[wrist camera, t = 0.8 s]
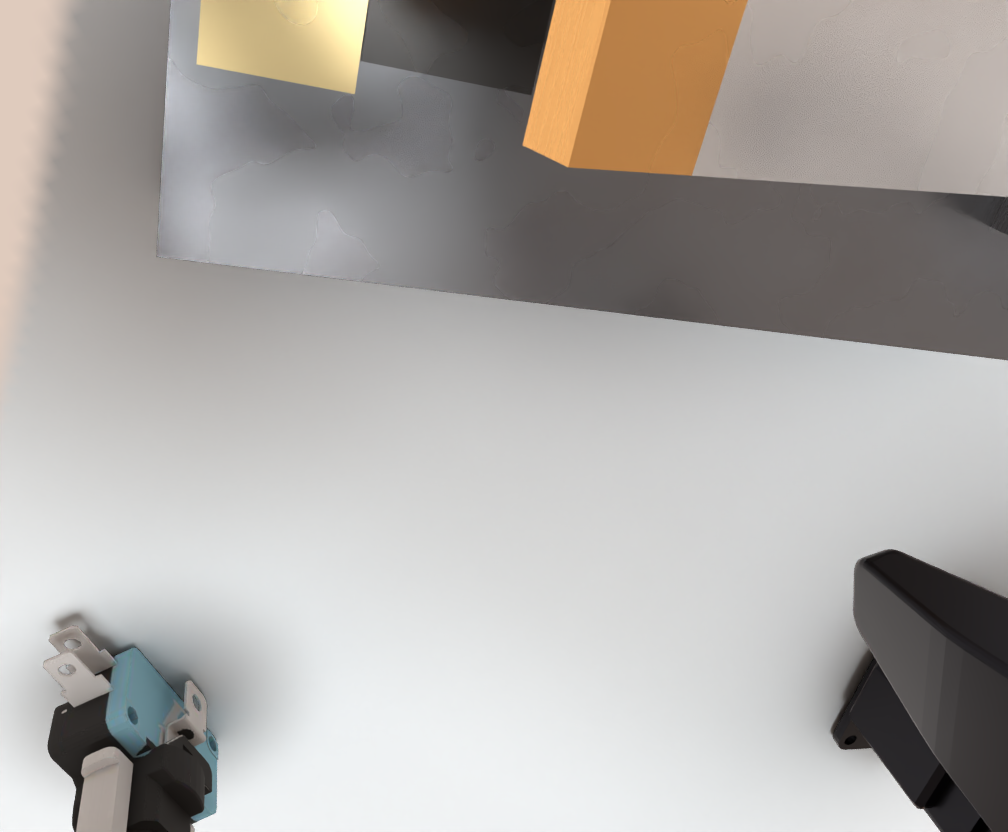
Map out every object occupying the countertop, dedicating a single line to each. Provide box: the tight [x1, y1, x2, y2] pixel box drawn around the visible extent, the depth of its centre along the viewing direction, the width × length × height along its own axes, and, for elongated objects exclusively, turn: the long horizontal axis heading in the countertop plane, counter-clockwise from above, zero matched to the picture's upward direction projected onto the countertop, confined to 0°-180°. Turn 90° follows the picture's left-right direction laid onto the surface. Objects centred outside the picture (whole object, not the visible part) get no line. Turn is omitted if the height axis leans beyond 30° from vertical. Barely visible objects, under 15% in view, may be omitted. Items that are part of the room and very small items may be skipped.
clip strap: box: [523, 0, 1008, 197], centre depth 14 cm, size 17×3×1 cm, turn 76°
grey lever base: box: [157, 0, 1008, 360], centre depth 18 cm, size 22×12×6 cm, turn 77°
